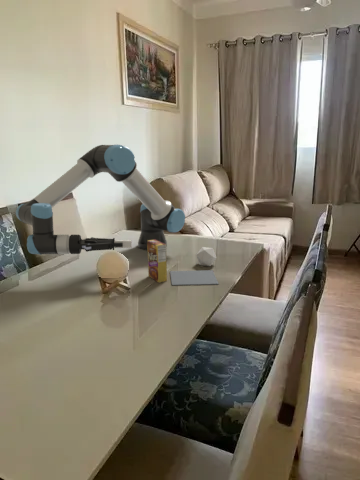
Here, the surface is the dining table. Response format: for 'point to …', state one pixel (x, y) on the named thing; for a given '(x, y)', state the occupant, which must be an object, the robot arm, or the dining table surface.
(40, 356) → the dining table surface
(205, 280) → the felt mat
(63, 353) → the dining table surface
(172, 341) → the dining table surface
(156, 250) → the candy box
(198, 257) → the die
